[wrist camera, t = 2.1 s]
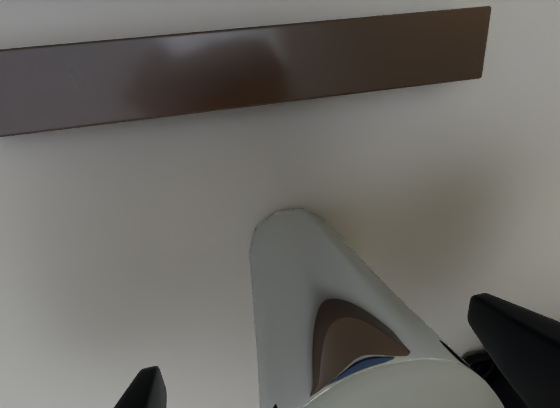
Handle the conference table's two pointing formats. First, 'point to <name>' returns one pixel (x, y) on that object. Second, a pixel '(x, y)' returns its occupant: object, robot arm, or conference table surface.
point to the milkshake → (343, 329)
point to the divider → (234, 68)
